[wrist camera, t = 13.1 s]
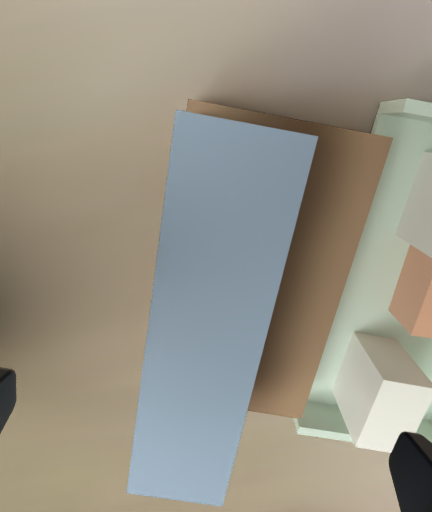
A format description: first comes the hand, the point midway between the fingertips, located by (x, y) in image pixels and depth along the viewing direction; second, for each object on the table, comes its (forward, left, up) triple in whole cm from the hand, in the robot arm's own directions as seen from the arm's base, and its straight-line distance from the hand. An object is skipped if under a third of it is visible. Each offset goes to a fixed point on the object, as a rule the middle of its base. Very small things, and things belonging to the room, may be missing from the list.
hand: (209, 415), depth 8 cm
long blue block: (0, 0, -8) cm, 8 cm away
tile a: (+8, -5, -9) cm, 13 cm away
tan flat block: (+2, 0, -11) cm, 11 cm away
